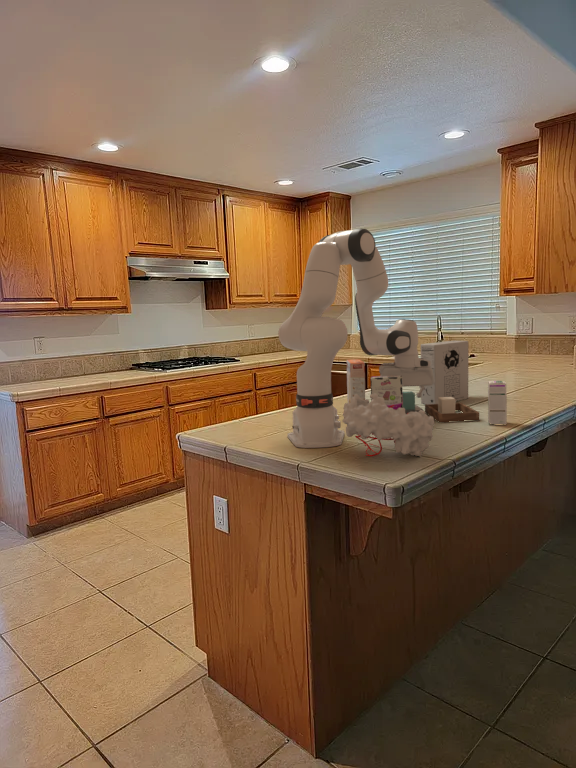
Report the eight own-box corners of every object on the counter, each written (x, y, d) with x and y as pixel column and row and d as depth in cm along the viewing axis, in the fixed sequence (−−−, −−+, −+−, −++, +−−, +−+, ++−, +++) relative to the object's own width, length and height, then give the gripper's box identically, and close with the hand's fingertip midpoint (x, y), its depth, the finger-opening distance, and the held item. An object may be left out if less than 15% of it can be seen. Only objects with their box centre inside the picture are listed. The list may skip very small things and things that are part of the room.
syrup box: (506, 425, 174) (507, 382, 172) (488, 425, 176) (488, 382, 174) (505, 422, 179) (506, 380, 177) (487, 421, 181) (487, 380, 179)
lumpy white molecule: (384, 469, 158) (318, 430, 150) (412, 416, 160) (349, 375, 152) (420, 486, 140) (348, 443, 132) (452, 426, 141) (382, 380, 133)
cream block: (455, 414, 195) (455, 399, 194) (442, 415, 195) (441, 399, 194) (451, 412, 200) (451, 396, 199) (438, 412, 200) (438, 397, 199)
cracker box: (366, 416, 198) (365, 362, 195) (350, 417, 199) (349, 362, 196) (362, 409, 212) (360, 358, 209) (347, 410, 212) (345, 359, 209)
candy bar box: (403, 419, 191) (402, 375, 188) (403, 422, 186) (402, 377, 184) (372, 419, 193) (371, 375, 191) (371, 422, 189) (370, 377, 186)
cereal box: (454, 396, 231) (454, 340, 228) (468, 398, 225) (468, 340, 222) (420, 403, 219) (420, 344, 216) (435, 405, 213) (434, 344, 210)
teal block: (415, 409, 199) (414, 393, 198) (401, 409, 199) (401, 394, 198) (411, 406, 204) (411, 391, 203) (399, 407, 204) (398, 392, 203)
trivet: (423, 415, 197) (423, 410, 196) (397, 416, 197) (397, 411, 196) (416, 410, 206) (416, 405, 206) (391, 411, 206) (391, 406, 206)
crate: (479, 420, 183) (479, 412, 183) (439, 422, 183) (439, 414, 183) (461, 410, 202) (461, 402, 202) (425, 412, 202) (424, 404, 202)
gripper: (380, 363, 195) (381, 400, 197) (435, 361, 195) (435, 398, 197) (377, 362, 202) (378, 397, 203) (430, 360, 202) (430, 395, 203)
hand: (406, 397), depth 200 cm, fingers open, 8 cm apart
